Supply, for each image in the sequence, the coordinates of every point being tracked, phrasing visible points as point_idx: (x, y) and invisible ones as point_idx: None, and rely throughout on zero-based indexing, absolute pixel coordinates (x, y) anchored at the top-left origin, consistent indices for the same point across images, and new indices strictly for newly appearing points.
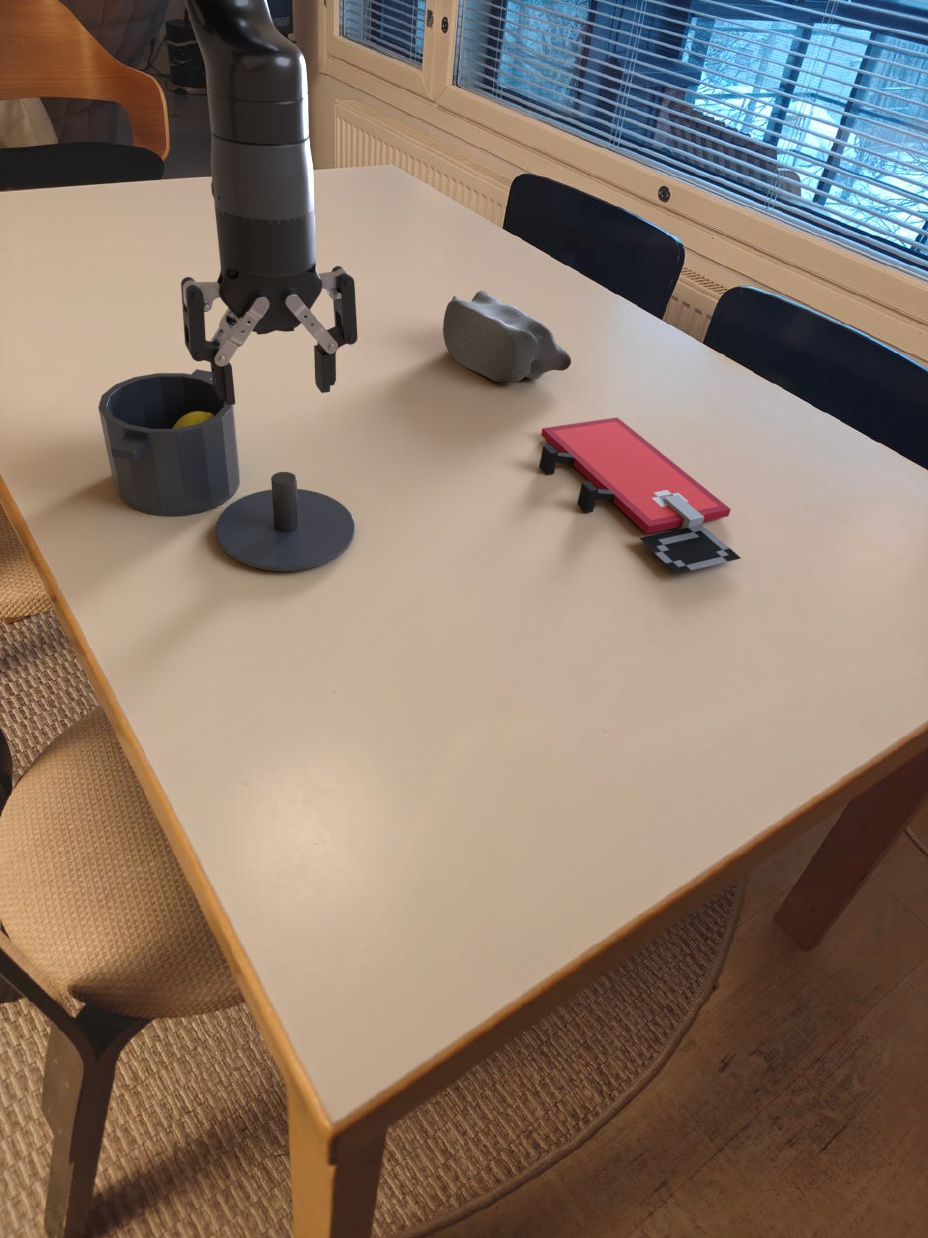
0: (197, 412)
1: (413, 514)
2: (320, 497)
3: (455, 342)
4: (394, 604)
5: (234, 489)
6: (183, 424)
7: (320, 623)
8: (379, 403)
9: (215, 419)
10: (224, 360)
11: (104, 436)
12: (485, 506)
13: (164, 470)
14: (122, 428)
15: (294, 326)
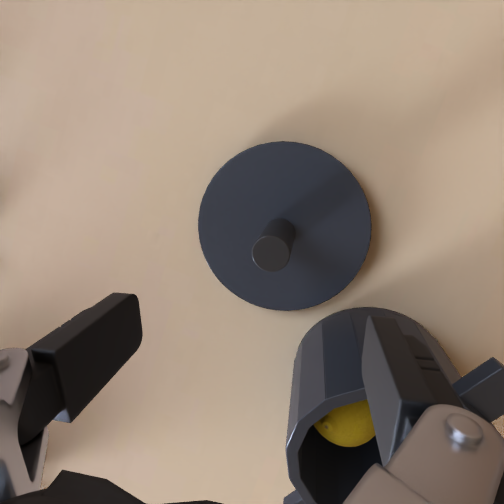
0: (344, 439)
1: (130, 216)
2: (222, 273)
3: None
4: (203, 41)
5: (312, 330)
6: (371, 424)
7: (304, 30)
8: (111, 418)
9: (336, 399)
10: (453, 420)
11: None
12: (50, 202)
13: None
14: None
15: (39, 494)
